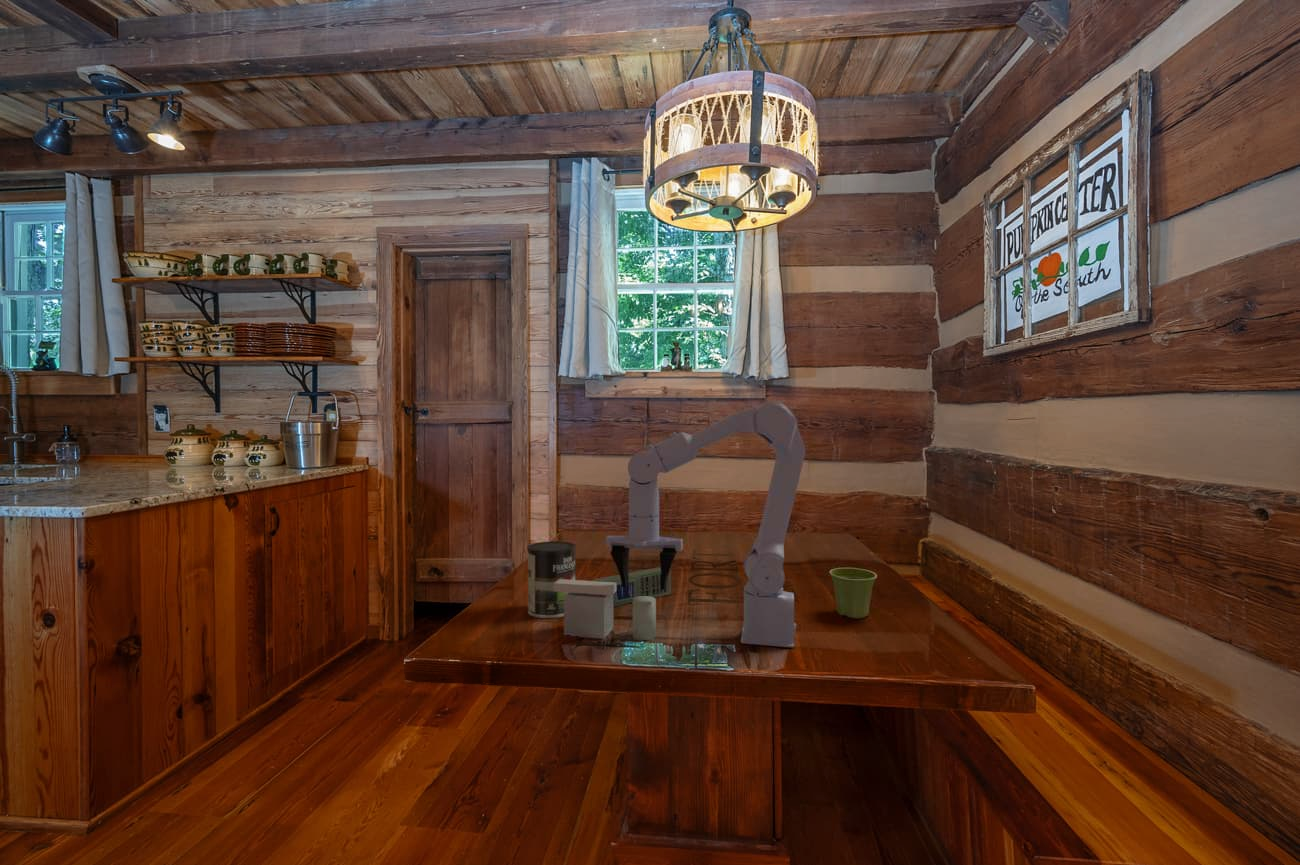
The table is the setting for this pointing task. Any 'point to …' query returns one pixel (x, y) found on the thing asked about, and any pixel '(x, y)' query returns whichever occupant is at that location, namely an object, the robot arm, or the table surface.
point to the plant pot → (853, 591)
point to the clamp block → (588, 615)
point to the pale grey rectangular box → (585, 587)
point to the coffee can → (548, 577)
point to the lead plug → (644, 618)
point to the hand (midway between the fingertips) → (644, 586)
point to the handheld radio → (638, 586)
